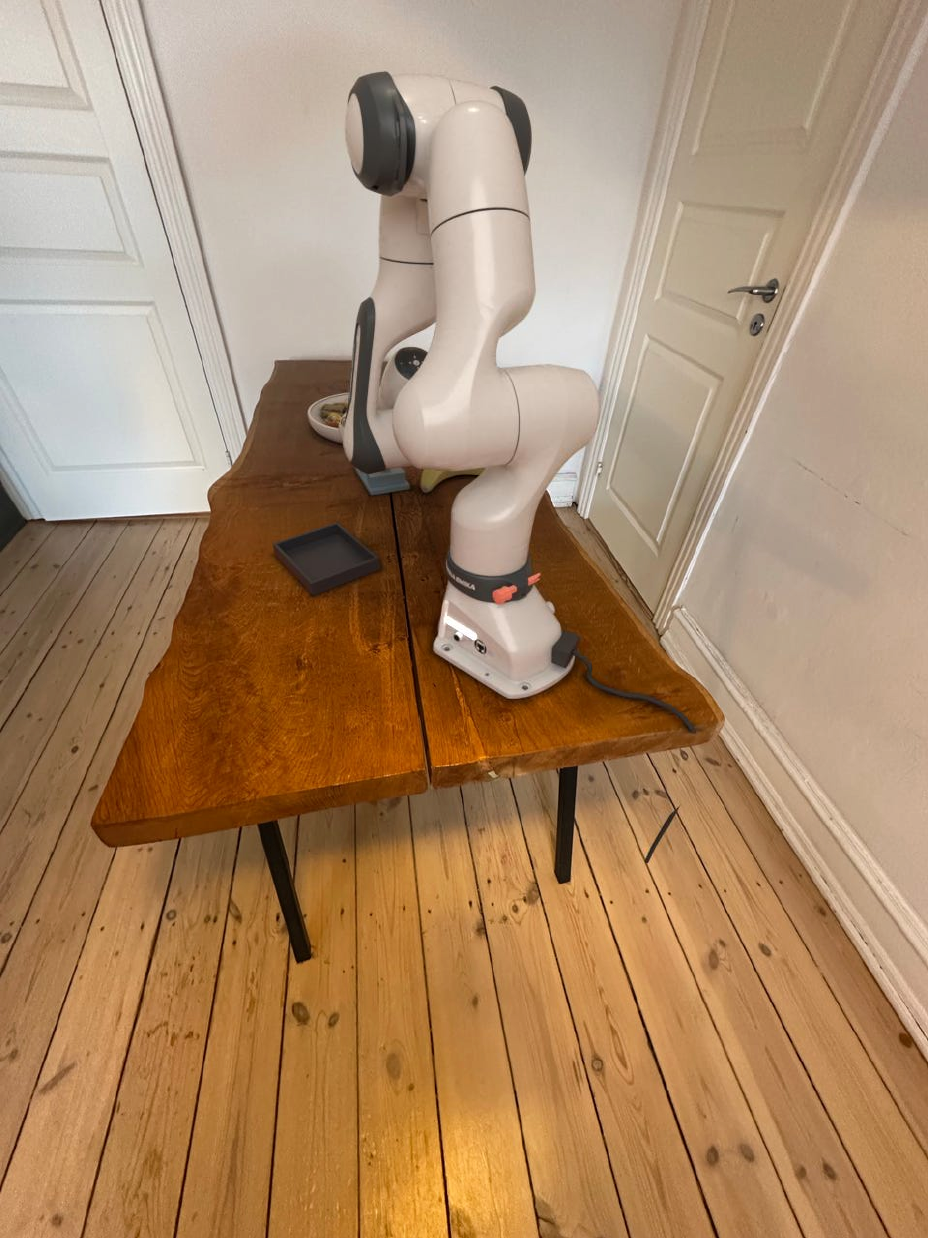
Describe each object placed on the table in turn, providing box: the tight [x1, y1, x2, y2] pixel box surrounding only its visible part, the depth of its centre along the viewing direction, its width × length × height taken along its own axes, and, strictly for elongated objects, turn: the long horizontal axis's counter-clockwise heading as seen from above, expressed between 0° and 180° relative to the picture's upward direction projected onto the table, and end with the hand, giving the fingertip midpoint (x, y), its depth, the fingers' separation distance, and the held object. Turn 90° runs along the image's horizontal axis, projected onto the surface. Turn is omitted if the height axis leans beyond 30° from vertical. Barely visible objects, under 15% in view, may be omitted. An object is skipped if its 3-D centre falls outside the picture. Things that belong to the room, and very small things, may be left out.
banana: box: [420, 467, 486, 494], centre depth 125 cm, size 14×6×20 cm
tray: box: [272, 521, 381, 597], centre depth 99 cm, size 15×13×2 cm
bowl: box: [307, 392, 349, 445], centre depth 146 cm, size 30×30×8 cm
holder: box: [353, 466, 411, 496], centre depth 125 cm, size 14×9×4 cm, turn 24°
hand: (384, 439), depth 116 cm, fingers open, 8 cm apart
